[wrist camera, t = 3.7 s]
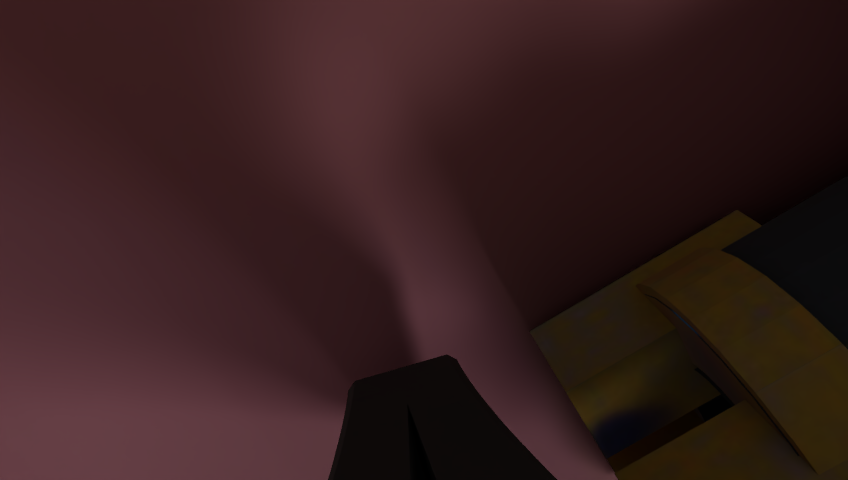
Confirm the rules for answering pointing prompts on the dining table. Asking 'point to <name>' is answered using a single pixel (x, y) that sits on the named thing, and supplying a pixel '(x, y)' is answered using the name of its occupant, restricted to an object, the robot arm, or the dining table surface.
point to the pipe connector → (719, 352)
